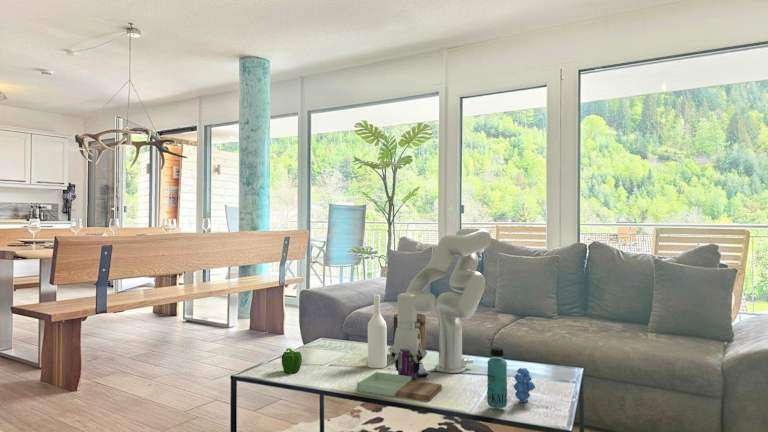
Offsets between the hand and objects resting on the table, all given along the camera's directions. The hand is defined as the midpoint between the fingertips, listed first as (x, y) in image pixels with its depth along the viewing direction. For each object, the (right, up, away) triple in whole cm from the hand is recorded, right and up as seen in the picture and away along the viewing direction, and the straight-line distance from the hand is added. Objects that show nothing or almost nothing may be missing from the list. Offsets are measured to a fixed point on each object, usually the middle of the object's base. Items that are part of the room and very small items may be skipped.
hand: (407, 370), depth 202 cm
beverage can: (0, -4, 0) cm, 4 cm away
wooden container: (+2, -4, +35) cm, 35 cm away
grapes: (+39, -3, -26) cm, 47 cm away
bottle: (-12, -4, +19) cm, 22 cm away
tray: (-9, -3, -10) cm, 14 cm away
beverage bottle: (+28, -3, -32) cm, 43 cm away
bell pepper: (-47, -4, +11) cm, 48 cm away
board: (+4, -3, -16) cm, 17 cm away
